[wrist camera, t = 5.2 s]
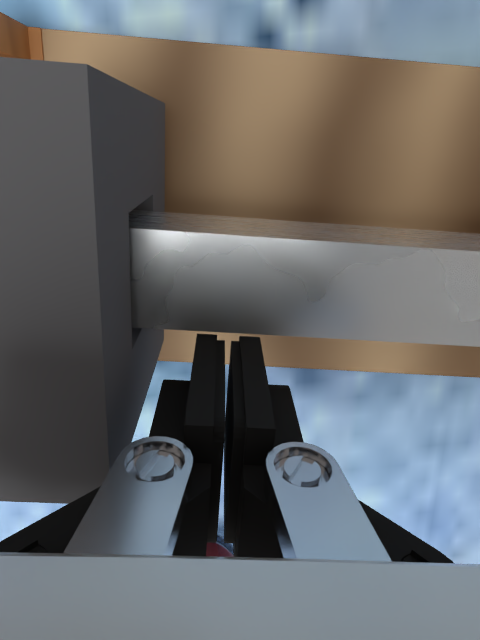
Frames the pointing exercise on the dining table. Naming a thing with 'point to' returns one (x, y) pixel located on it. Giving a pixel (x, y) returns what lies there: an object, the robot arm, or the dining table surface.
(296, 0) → the dining table surface
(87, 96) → the collar
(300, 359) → the pipe stand
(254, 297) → the white long bar
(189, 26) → the dining table surface
